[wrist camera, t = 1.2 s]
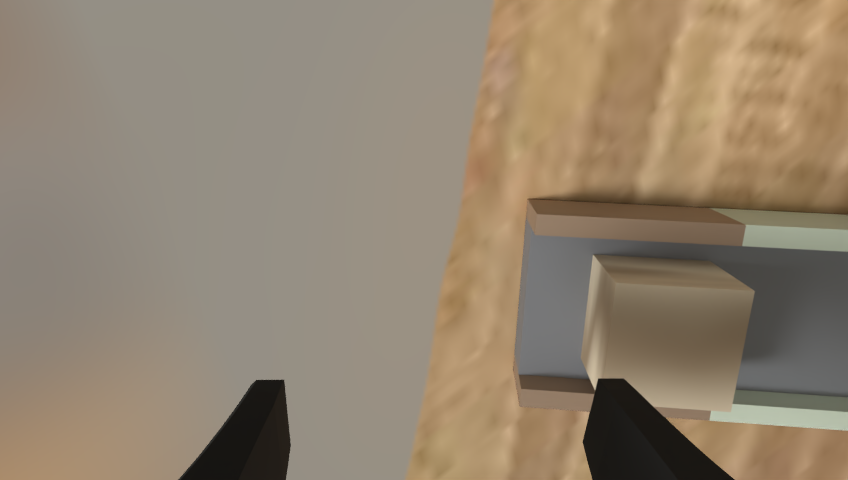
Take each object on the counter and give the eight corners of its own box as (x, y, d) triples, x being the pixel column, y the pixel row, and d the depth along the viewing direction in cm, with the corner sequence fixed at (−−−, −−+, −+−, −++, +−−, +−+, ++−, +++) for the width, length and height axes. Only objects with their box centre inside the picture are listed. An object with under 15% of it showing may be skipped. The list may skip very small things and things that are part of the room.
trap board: (958, 400, 24) (1030, 443, 21) (513, 369, 26) (519, 406, 22) (1014, 222, 22) (1102, 242, 19) (527, 198, 24) (537, 214, 20)
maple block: (691, 365, 23) (730, 412, 19) (580, 357, 23) (600, 403, 20) (709, 260, 22) (754, 290, 18) (592, 254, 22) (616, 282, 18)
